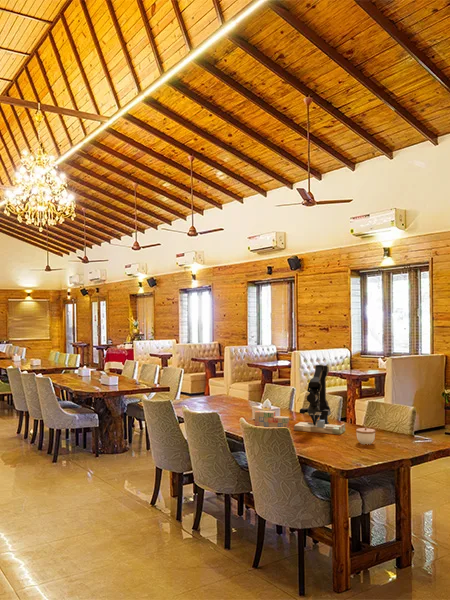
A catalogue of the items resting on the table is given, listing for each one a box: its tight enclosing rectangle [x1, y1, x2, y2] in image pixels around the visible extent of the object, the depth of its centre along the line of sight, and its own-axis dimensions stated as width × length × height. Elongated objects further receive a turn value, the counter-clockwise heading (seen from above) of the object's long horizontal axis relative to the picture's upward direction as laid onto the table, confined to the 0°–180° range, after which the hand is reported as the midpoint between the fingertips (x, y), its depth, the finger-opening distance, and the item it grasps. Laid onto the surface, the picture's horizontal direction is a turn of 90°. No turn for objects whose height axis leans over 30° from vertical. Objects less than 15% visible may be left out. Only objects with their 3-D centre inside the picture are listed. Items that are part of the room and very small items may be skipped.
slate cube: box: [317, 419, 325, 428], centre depth 354 cm, size 4×4×4 cm
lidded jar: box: [355, 426, 376, 446], centre depth 321 cm, size 11×11×9 cm
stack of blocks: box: [254, 410, 290, 429], centre depth 356 cm, size 21×6×12 cm, turn 71°
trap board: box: [293, 421, 346, 435], centre depth 358 cm, size 13×30×4 cm, turn 65°
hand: (314, 425), depth 356 cm, fingers closed
